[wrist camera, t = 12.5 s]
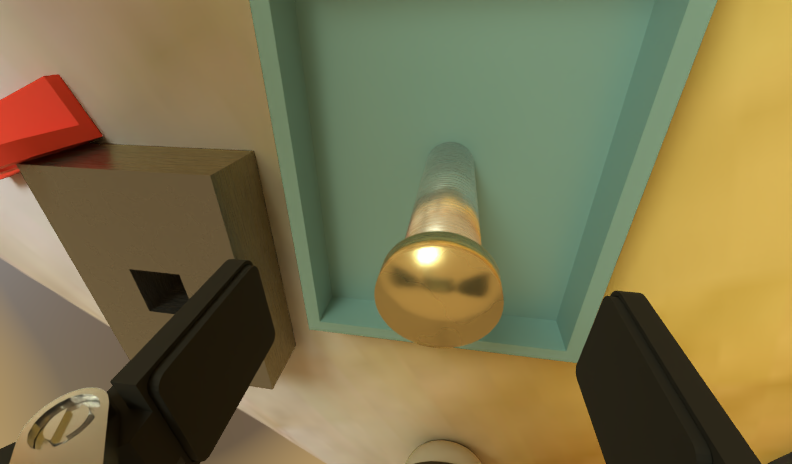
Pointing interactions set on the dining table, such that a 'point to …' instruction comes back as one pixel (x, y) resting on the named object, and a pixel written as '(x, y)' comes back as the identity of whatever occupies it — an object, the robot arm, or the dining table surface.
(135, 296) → the grey-brown socket block
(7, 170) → the bracket
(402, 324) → the pin
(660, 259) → the dining table surface
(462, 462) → the pump dispenser
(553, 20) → the tray
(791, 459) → the dark slate chunk
